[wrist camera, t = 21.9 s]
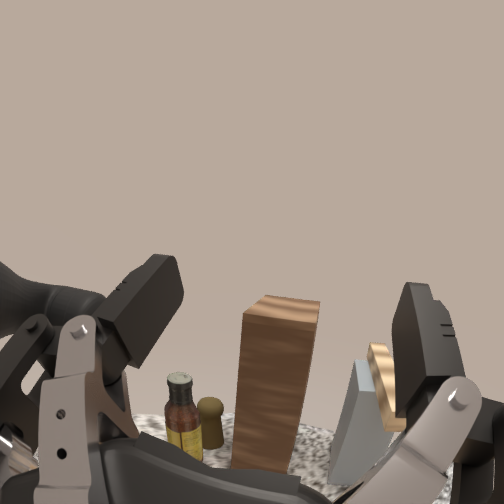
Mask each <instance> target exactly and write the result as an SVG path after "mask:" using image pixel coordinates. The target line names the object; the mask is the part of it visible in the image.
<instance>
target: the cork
mask: <svg viewBox="0 0 504 504" xmlns="http://www.w3.org/2000/svg"><path fill="white" fill-rule="evenodd" d="M197 410H198V411H199V413H200V419H201V432H202V447H203V448H204V449H210V450H213V449H217V448H220V447H221V446H222V445H223V444H224V437H223V430H222V422H221V415H222V413H223V411H224V407H223V404H222V402H221V401H220V400H219V399H217V398H214V397H205V398H202V399H201V400H200V401H199V402H198V404H197Z"/></svg>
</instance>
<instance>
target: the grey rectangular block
mask: <svg viewBox="0 0 504 504" xmlns="http://www.w3.org/2000/svg"><path fill="white" fill-rule="evenodd" d="M393 434H394V432H384V427H383V422H382V418H381V413H380V408H379V404H378V400H377V395H376V391H375V387H374V383H373V379H372V375H371V371H370V367H369V363H368V361H366V360H354V365H353V369H352V374H351V378H350V382H349V386H348V390H347V394H346V398H345V402H344V405H343V409H342V413H341V416H340V420H339V423H338V427H337V430H336V433H335V436H334V439H333V442H332V445H331V454H330V465H329V475H328V484H333V485H352V484H353V483H354V482H356V481H357V480H358V479H359V478H360V477H361V476H362V475H363V474H365V473H366V472H367V471H368V470H369V469H370V468H371V467H372V465H373V464H374V463H375V462H376V461H377V460H378V459H379V458H380V457H381V456H382V455H383V454H384V452H385V451H386V450H387V448H388V446H389V444H390V441H391V439H392V437H393Z"/></svg>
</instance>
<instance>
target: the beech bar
mask: <svg viewBox="0 0 504 504" xmlns="http://www.w3.org/2000/svg"><path fill="white" fill-rule="evenodd" d="M367 360H368V363H369V367H370V371H371V375H372V379H373V383H374V387H375V391H376V395H377V400H378V404H379V408H380V413H381V418H382V422H383V427H384V432H402V431H403V430H404V429H405V428H406V418H395V375H394V362H393V360H392V358H391V356H390V353H389V351H388V349H387V347H386V345H385V344H384V343H371V342H370V345H369V349H368V354H367Z"/></svg>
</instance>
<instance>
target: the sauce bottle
mask: <svg viewBox="0 0 504 504" xmlns="http://www.w3.org/2000/svg"><path fill="white" fill-rule="evenodd" d="M167 384H168V386H169V393H170V396H169V401H168V402H167V404H166V405H165V420H166V421H165V424H166V431H167V438H168V442H169V443H171V444H174V445H176V446H177V447H179V448H180V449H182V450H183V451H185V452H186V453H188V454H189V455H191V456H193V457H194V458H196V459H197V460H199V461H201V462H202V460H203V447H202V432H201V419H200V413H199V411H198V410H197V408H196V406H195V404H194V402H193V400H192V399H193V398H192V389H191V388H192V385H193V382H192V377H191V376H190V375H189V374H186V373H183V372H176V373H172V374H170V375H169V376H168V377H167Z"/></svg>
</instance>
